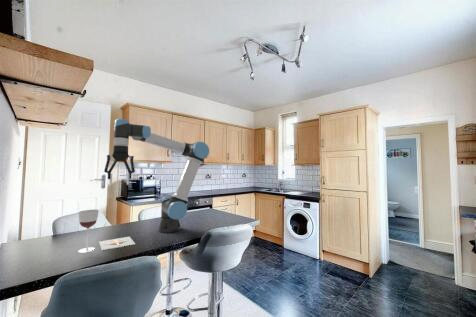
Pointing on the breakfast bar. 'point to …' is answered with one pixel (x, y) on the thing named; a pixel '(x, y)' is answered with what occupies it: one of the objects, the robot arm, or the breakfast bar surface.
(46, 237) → the breakfast bar surface
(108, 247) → the mat
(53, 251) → the breakfast bar surface
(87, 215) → the wineglass
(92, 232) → the breakfast bar surface
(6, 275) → the breakfast bar surface
